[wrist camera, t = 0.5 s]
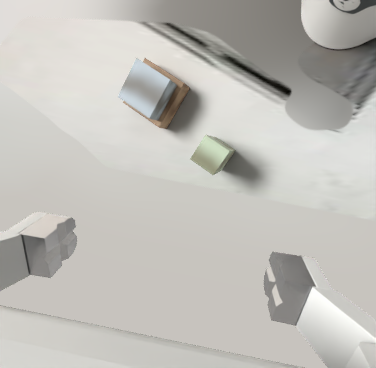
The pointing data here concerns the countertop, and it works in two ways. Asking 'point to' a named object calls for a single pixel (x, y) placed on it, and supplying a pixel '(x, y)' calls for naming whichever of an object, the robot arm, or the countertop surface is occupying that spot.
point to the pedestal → (153, 92)
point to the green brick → (212, 154)
